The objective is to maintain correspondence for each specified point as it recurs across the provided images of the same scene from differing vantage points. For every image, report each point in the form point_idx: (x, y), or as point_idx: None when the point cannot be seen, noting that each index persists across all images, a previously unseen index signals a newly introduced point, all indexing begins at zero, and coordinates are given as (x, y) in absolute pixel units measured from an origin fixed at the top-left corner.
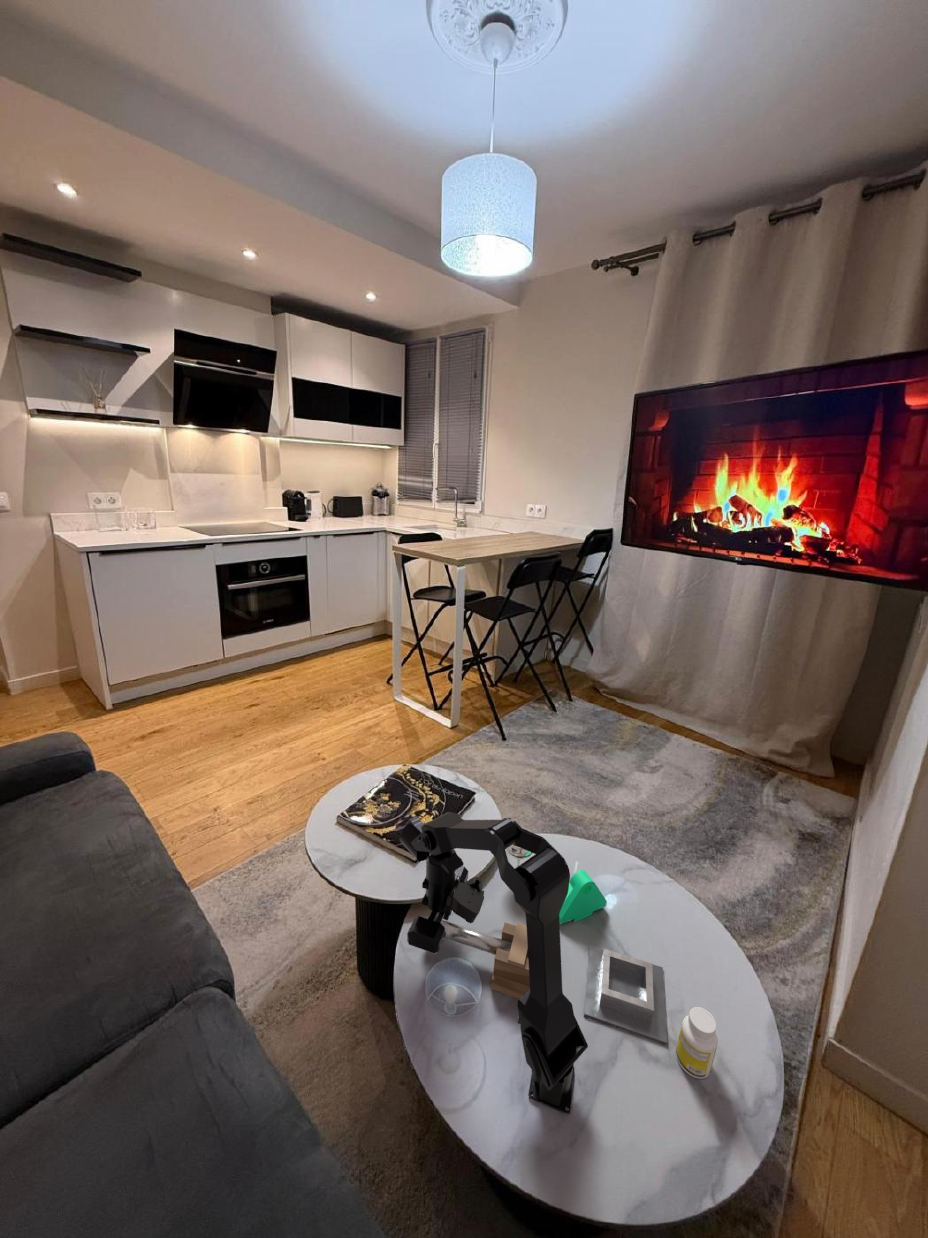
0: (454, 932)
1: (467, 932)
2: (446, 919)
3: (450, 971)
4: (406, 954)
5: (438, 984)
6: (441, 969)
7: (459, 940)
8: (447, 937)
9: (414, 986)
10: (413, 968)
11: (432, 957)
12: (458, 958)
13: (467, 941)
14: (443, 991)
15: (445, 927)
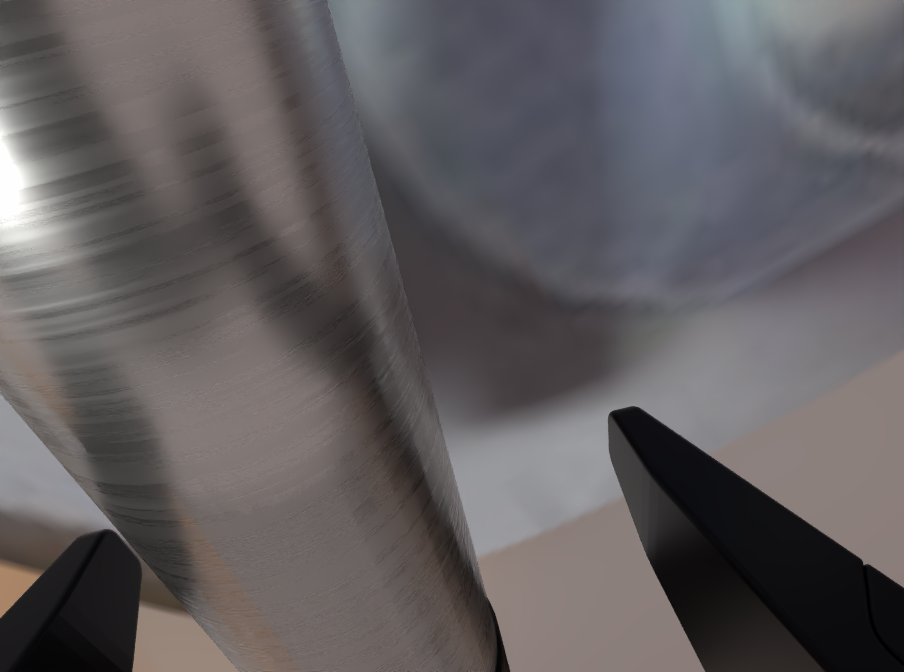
0: (371, 492)
1: (64, 201)
2: (113, 551)
3: (589, 96)
4: (594, 507)
5: (784, 138)
6: (607, 207)
7: (389, 256)
8: (447, 461)
9: (843, 321)
10: (687, 413)
11: (523, 352)
12: (375, 97)
13: (303, 12)
14: (859, 32)
15: (397, 657)
